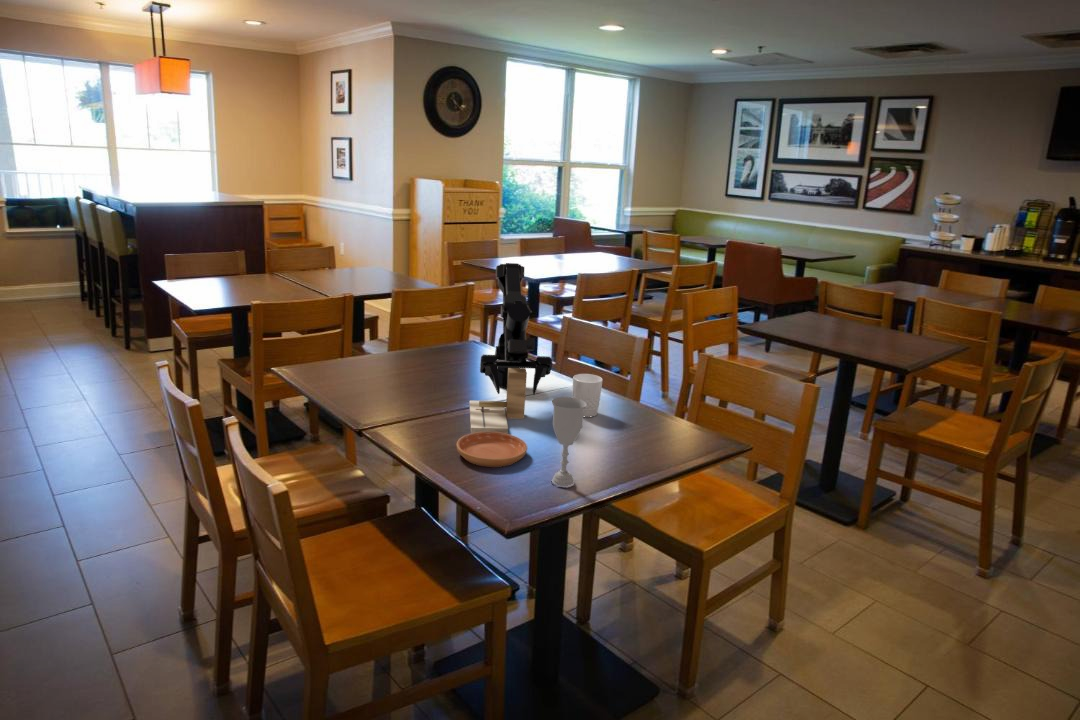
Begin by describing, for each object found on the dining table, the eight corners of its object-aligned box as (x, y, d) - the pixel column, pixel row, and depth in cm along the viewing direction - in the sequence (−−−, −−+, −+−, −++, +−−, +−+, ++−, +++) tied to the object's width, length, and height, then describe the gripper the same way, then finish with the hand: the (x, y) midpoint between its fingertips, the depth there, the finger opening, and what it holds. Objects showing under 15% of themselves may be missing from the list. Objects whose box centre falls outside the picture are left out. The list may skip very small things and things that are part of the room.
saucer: (537, 452, 167) (538, 440, 166) (506, 477, 153) (507, 464, 152) (477, 437, 173) (478, 426, 172) (442, 460, 159) (442, 448, 158)
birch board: (469, 405, 194) (469, 400, 193) (502, 406, 195) (502, 400, 195) (470, 433, 175) (471, 427, 174) (507, 434, 176) (508, 428, 175)
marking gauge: (478, 412, 189) (480, 367, 186) (522, 413, 191) (525, 368, 187) (478, 417, 186) (480, 371, 182) (523, 418, 187) (526, 372, 184)
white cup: (603, 418, 191) (606, 382, 189) (575, 418, 189) (577, 382, 187) (594, 408, 199) (597, 373, 196) (566, 408, 197) (569, 373, 194)
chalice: (539, 483, 150) (545, 402, 146) (556, 472, 156) (561, 394, 151) (569, 493, 147) (576, 411, 142) (585, 482, 152) (592, 402, 148)
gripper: (482, 324, 185) (482, 378, 177) (553, 327, 187) (556, 380, 180) (480, 346, 195) (479, 398, 187) (548, 348, 197) (550, 399, 189)
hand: (516, 393), depth 186 cm, fingers open, 9 cm apart
